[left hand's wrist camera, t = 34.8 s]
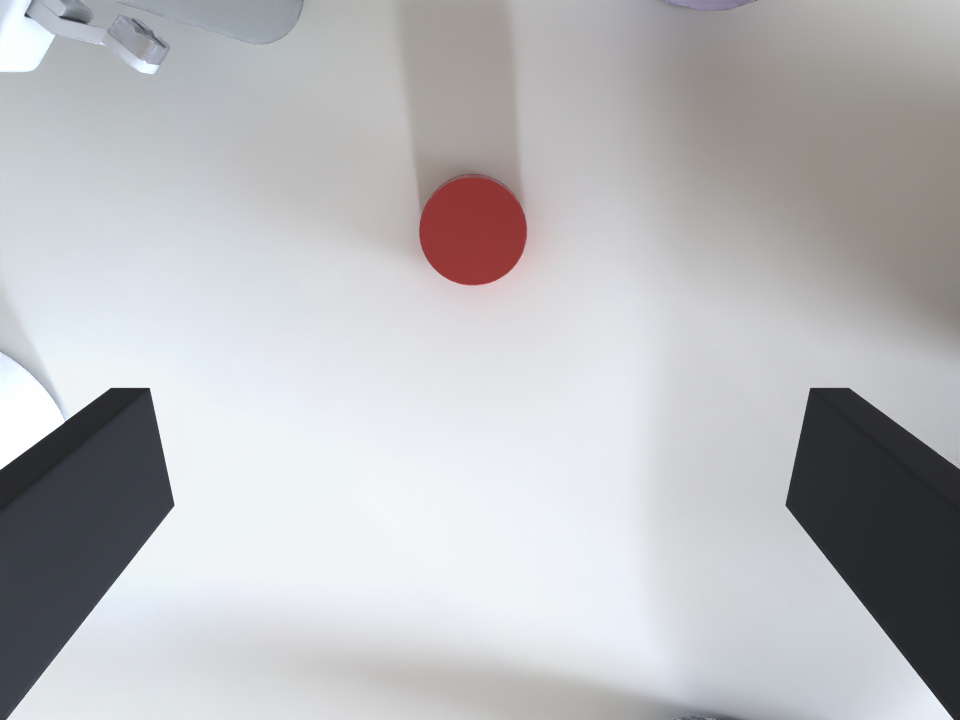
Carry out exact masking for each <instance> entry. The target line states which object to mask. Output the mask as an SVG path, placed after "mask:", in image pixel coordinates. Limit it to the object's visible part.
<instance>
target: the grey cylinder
mask: <svg viewBox="0 0 960 720" xmlns="http://www.w3.org/2000/svg"><path fill="white" fill-rule="evenodd" d="M112 1H115V2H118V3H122V4H125V5H128V6H131V7H134V8H138V9H141V10H144V11H147V12H150V13H153V14H157V15H160V16H163V17H166V18H169V19H173V20H176V21H179V22H182V23H185V24H188V25H192V26H195V27H198V28H201V29H204V30H207V31H211V32H214V33H217V34H220V35H223V36H227V37H230V38H233V39H236V40H239V41H242V42H246V43H250V44H267V43H271V42H274V41H276V40H278V39H280V38H282V37H283V36H285V35H286V34H287V33H288V32H289V31H290V30H291V29H292V27H293V26H294V25H295V23H296V21H297V20H298V17H299V15H300V12H301V9H302V4H303V0H112Z"/></svg>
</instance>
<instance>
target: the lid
mask: <svg viewBox="0 0 960 720" xmlns="http://www.w3.org/2000/svg"><path fill="white" fill-rule="evenodd" d="M419 231H420V242H421V246H422V249H423V252H424V254H425V256H426V258H427V260H428V261H429V263H430V264H431V265H432V267H433V268H434V269H435V270H436V271H437V272H438V273H440V274H441V275H442V276H444V277H445V278H447V279H449V280H451V281H453V282H456V283H459V284H463V285H484V284H487V283H491V282H493V281H496V280H498V279H500V278H501V277H503V276H504V275H506V274H507V273H508V272H509V271H510V270H511V269H512V268H513V267H514V266H515V265H516V264H517V262H518V260H519V259H520V257H521V255H522V253H523V251H524V247H525V244H526V238H527V226H526V220H525V216H524V213H523V210H522V208H521V206H520V204H519V202H518V200H517V198H516V197H515V195H514V194H513V193H512V192H511V191H510V190H509V188H507V187H506V186H505V185H504V184H502V183H501V182H499V181H498V180H495V179H493V178H491V177H488V176H484V175H478V174H469V175H462V176H459V177H456V178H453V179H451V180H449V181H447V182H446V183H444V184H443V185H442V186H440V187H439V188H438V189H437V190H436V191H435V192H434V194H433V195H432V196H431V198H430V199H429V201H428V203H427V205H426V206H425V208H424V211H423V213H422V217H421V221H420V229H419Z"/></svg>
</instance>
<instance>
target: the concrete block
mask: <svg viewBox="0 0 960 720" xmlns="http://www.w3.org/2000/svg"><path fill="white" fill-rule="evenodd" d="M675 720H720V719H713V718H698V717H684V718H677V719H675Z"/></svg>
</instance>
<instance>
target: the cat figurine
mask: <svg viewBox="0 0 960 720" xmlns="http://www.w3.org/2000/svg"><path fill="white" fill-rule="evenodd" d="M662 1H665V2H667V3H670V4H673V5H675V6H687V7H689V8H692V9H695V10H729V9H732V8H735V7H738V6H741V5H744V4H748V3H751V2H754V1H757V0H662Z"/></svg>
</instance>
